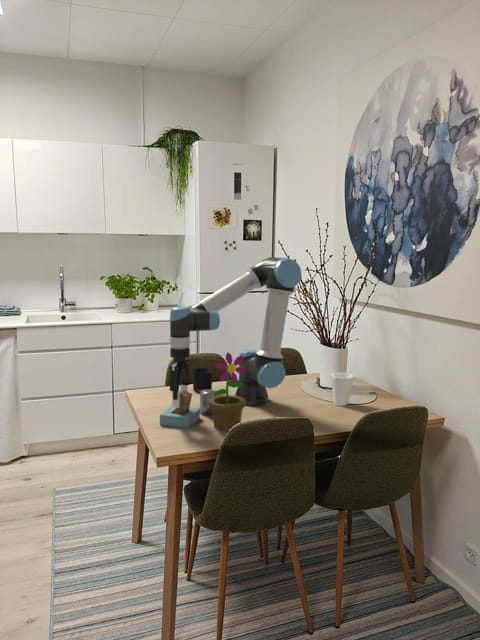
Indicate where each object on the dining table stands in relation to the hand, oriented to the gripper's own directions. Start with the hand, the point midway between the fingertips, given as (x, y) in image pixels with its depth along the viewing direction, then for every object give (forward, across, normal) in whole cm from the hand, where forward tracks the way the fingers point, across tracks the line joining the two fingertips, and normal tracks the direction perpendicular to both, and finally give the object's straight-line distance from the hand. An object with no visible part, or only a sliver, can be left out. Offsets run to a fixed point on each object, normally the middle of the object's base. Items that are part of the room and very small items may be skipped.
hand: (180, 404), depth 200 cm
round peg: (+7, -13, +7) cm, 16 cm away
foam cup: (+7, -43, +59) cm, 73 cm away
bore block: (+7, 0, 0) cm, 7 cm away
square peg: (+6, 0, 0) cm, 6 cm away
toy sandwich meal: (+8, -71, +51) cm, 87 cm away
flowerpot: (+7, -1, +19) cm, 20 cm away
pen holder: (+7, -42, -6) cm, 43 cm away
